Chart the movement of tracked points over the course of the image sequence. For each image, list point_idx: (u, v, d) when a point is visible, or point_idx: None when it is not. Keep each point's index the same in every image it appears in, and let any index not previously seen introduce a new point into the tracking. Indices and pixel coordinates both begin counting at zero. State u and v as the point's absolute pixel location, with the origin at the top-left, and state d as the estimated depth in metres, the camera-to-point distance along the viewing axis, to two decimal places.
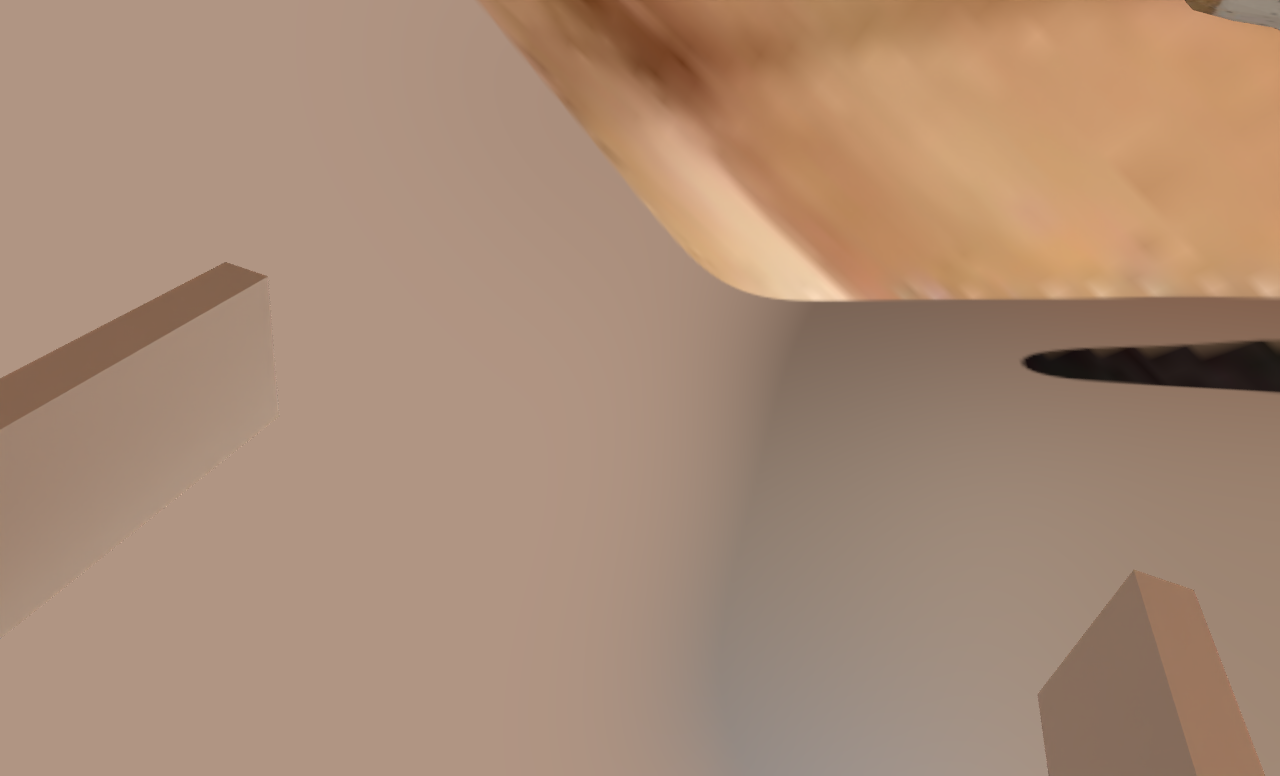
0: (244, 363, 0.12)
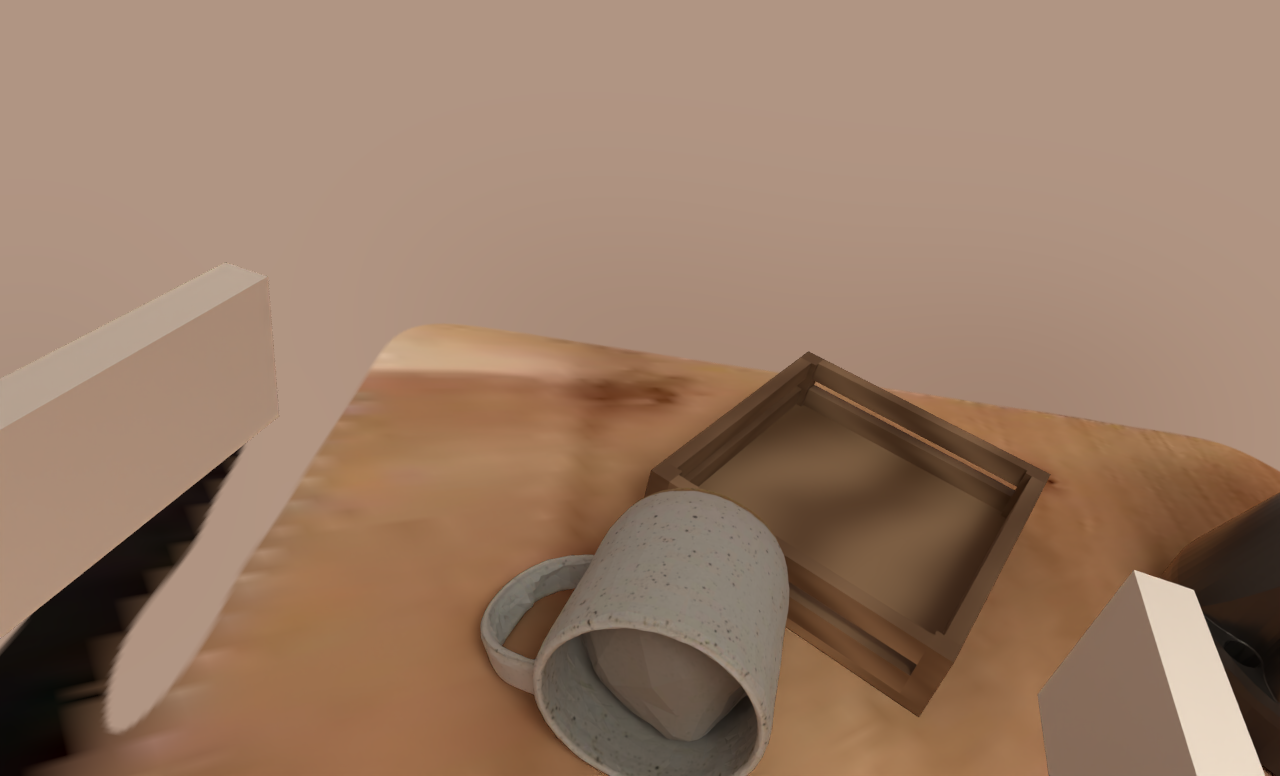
0: (244, 363, 0.12)
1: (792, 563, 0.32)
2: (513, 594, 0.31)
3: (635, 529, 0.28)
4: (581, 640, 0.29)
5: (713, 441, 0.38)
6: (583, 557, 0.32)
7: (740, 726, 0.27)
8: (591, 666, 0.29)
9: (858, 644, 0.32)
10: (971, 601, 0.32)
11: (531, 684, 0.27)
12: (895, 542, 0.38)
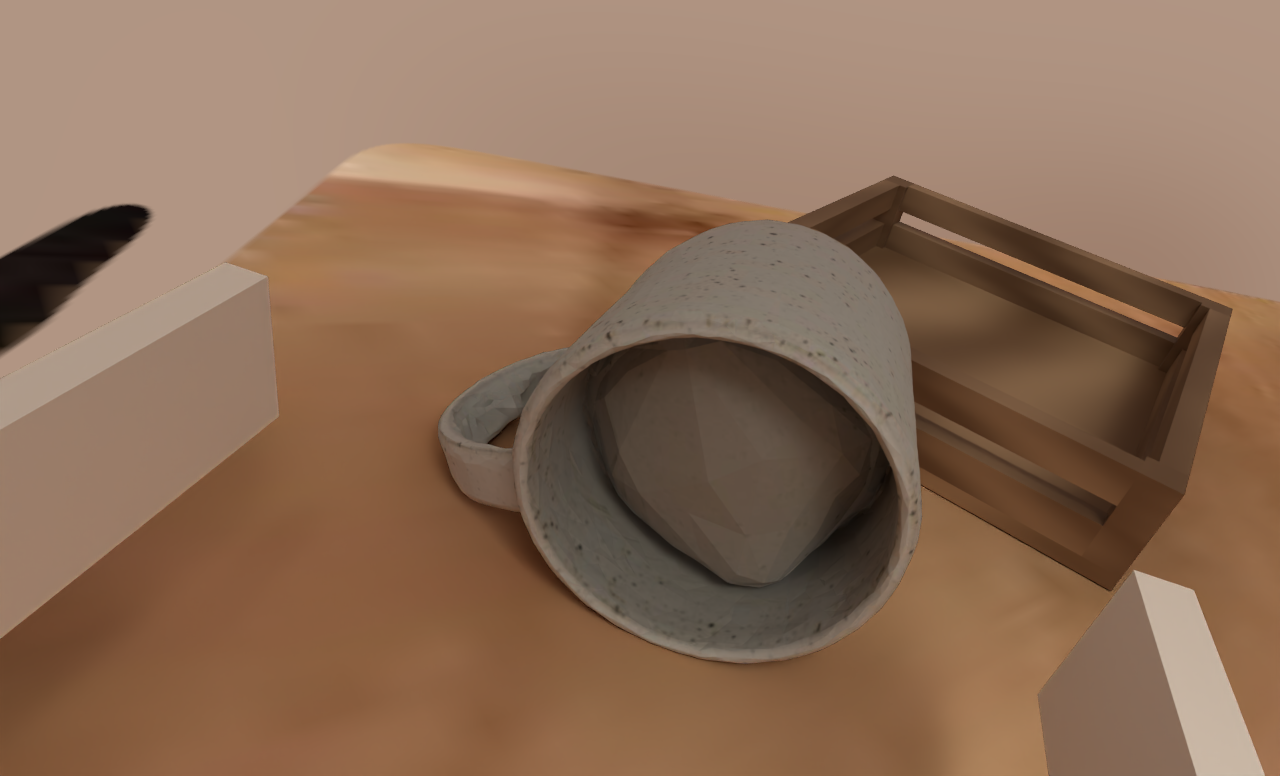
0: (244, 363, 0.12)
1: (918, 369, 0.22)
2: (491, 393, 0.21)
3: (678, 254, 0.18)
4: (592, 440, 0.19)
5: None
6: None
7: (846, 558, 0.17)
8: (606, 483, 0.19)
9: (1017, 485, 0.21)
10: (1182, 426, 0.22)
11: (512, 491, 0.17)
12: (1031, 387, 0.28)
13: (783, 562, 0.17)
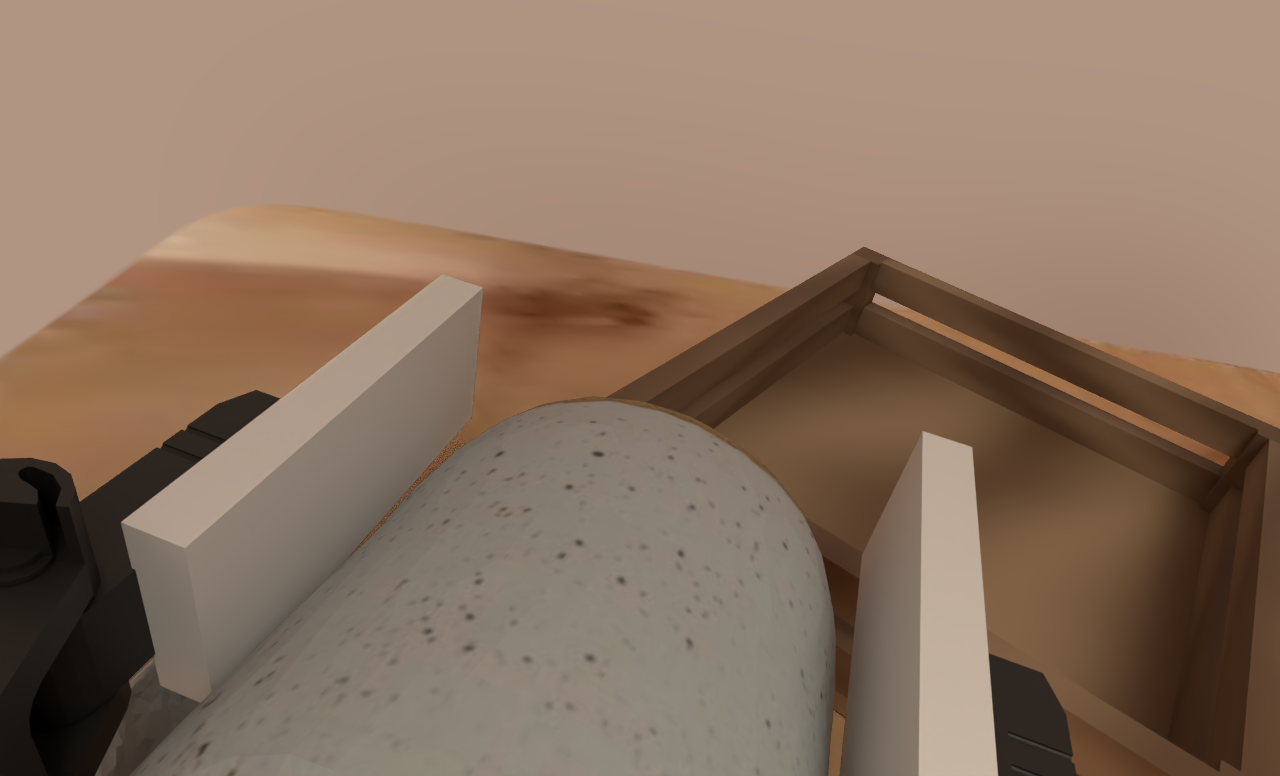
0: (459, 368, 0.13)
1: None
2: None
3: (442, 485, 0.11)
4: None
5: (711, 364, 0.21)
6: None
7: None
8: None
9: None
10: (1264, 683, 0.15)
11: None
12: (1038, 553, 0.21)
13: None
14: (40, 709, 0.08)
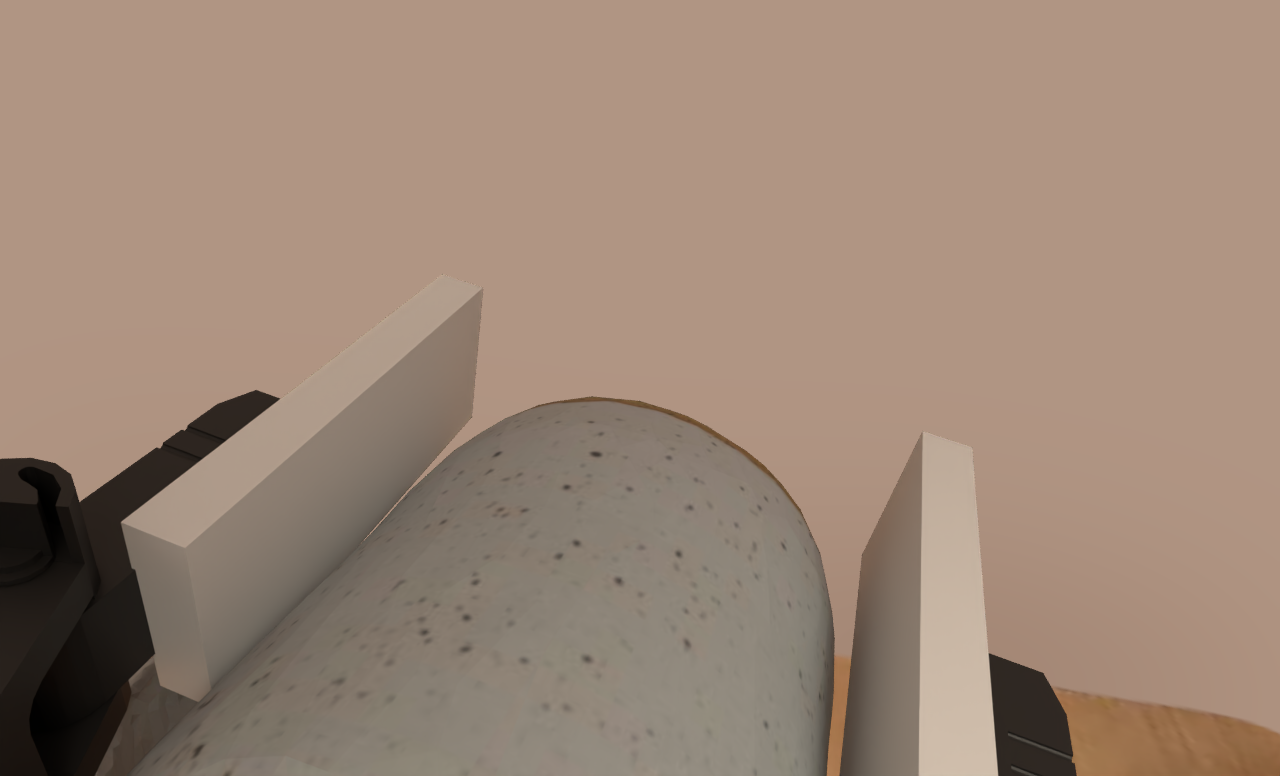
0: (459, 368, 0.13)
1: None
2: None
3: (440, 486, 0.11)
4: None
5: None
6: None
7: None
8: None
9: None
10: None
11: None
12: None
13: None
14: (40, 709, 0.08)
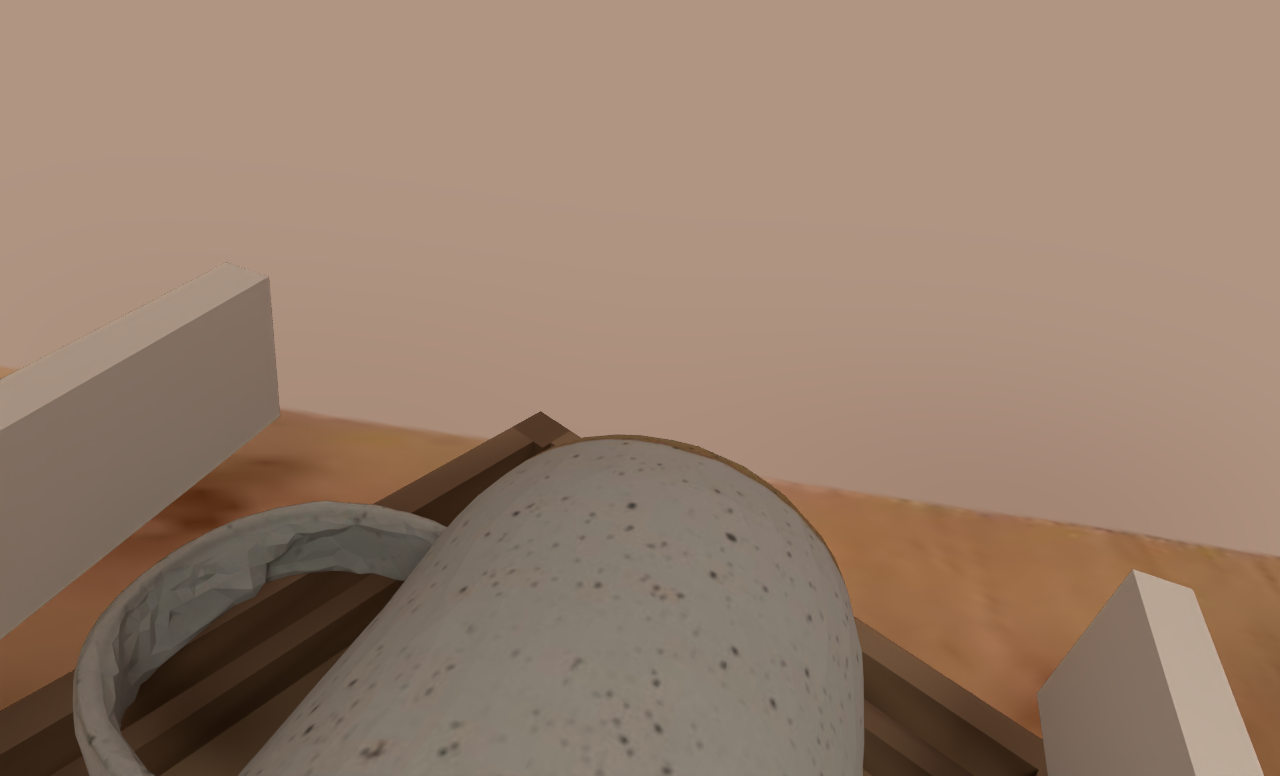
0: (245, 363, 0.12)
1: None
2: (214, 563, 0.13)
3: (572, 524, 0.10)
4: None
5: (49, 730, 0.12)
6: (406, 519, 0.14)
7: None
8: None
9: None
10: None
11: None
12: None
13: None
14: None
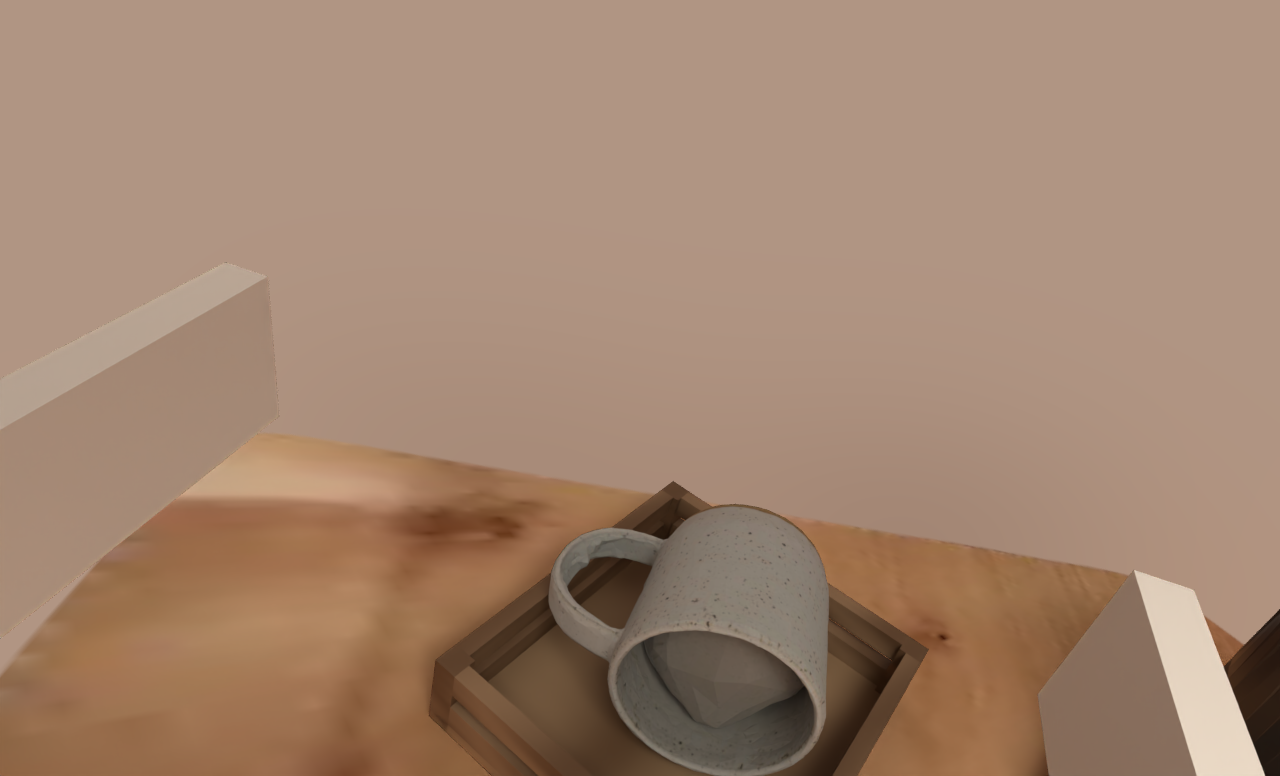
0: (244, 363, 0.12)
1: None
2: (577, 552, 0.33)
3: (731, 539, 0.31)
4: None
5: (526, 612, 0.32)
6: (644, 536, 0.34)
7: (760, 727, 0.31)
8: None
9: None
10: None
11: (600, 647, 0.30)
12: None
13: (729, 722, 0.31)
14: None
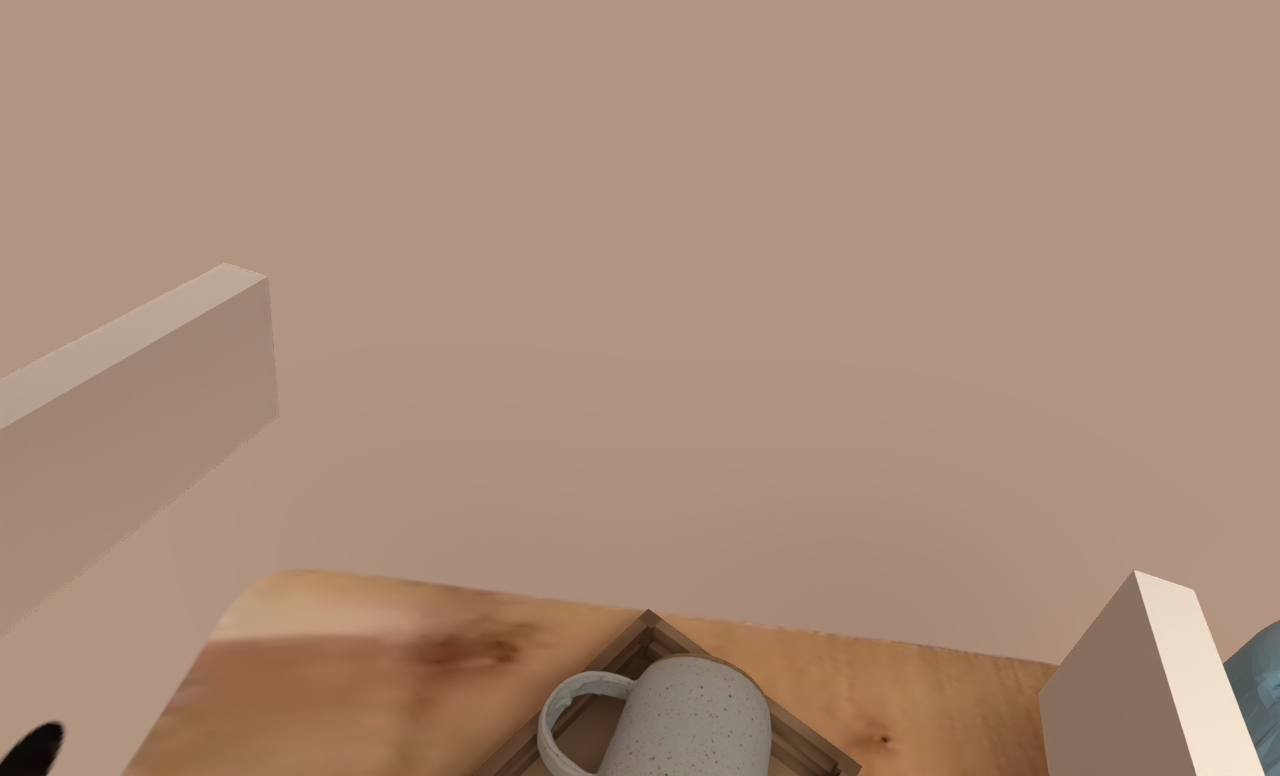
0: (244, 363, 0.12)
1: None
2: (561, 696, 0.39)
3: (685, 694, 0.37)
4: None
5: (519, 750, 0.39)
6: (618, 677, 0.40)
7: None
8: None
9: None
10: None
11: None
12: None
13: None
14: None
